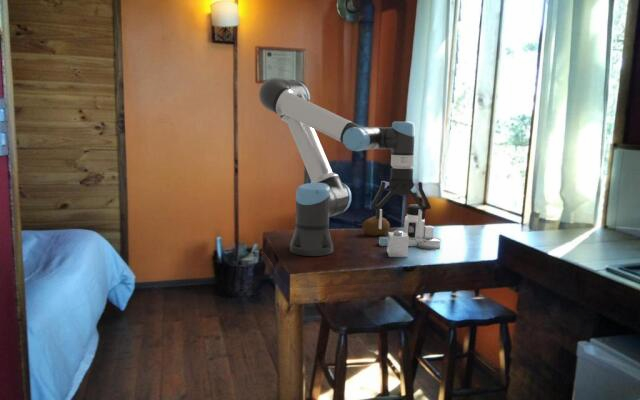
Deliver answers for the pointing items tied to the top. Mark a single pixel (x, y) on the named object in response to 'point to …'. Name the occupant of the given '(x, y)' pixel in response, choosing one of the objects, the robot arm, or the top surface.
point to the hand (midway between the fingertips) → (399, 228)
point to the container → (413, 222)
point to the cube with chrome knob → (397, 244)
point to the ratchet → (419, 240)
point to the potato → (375, 226)
